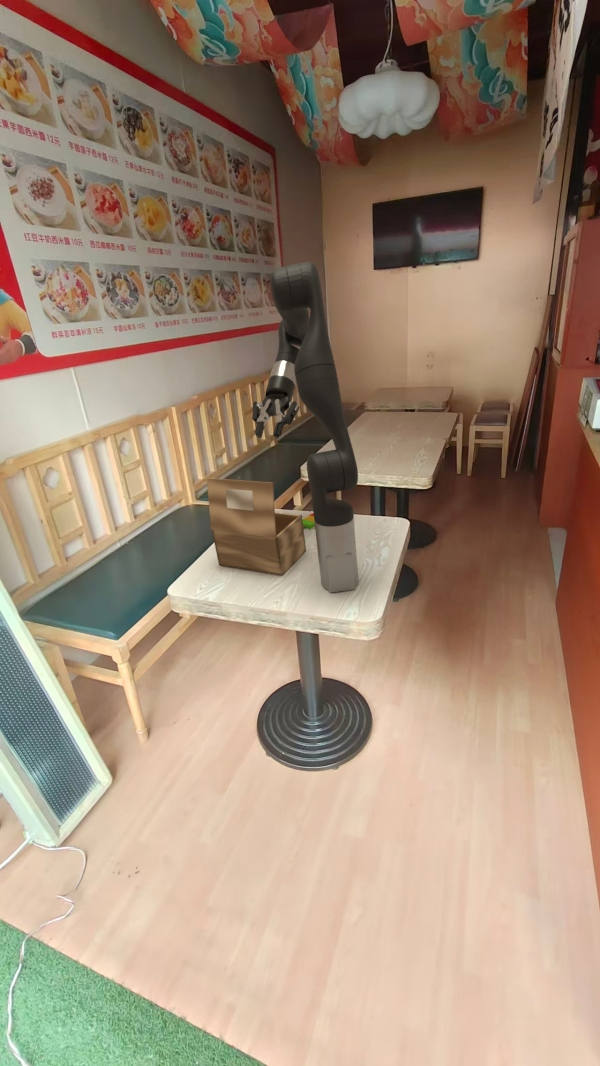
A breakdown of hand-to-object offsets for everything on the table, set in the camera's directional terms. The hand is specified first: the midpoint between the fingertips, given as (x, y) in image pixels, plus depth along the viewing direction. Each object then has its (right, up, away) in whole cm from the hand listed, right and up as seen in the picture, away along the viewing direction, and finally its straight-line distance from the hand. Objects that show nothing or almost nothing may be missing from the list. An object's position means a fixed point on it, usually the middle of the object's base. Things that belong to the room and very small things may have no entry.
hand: (267, 436), depth 139 cm
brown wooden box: (-1, -33, +5) cm, 33 cm away
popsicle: (+11, -24, +21) cm, 34 cm away
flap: (-6, -19, -8) cm, 22 cm away
